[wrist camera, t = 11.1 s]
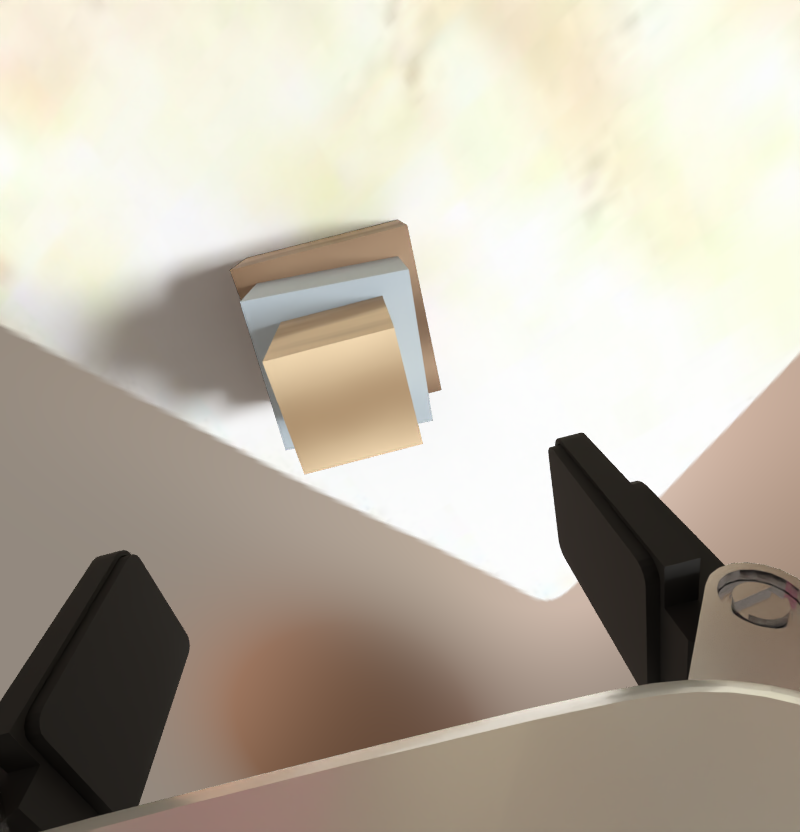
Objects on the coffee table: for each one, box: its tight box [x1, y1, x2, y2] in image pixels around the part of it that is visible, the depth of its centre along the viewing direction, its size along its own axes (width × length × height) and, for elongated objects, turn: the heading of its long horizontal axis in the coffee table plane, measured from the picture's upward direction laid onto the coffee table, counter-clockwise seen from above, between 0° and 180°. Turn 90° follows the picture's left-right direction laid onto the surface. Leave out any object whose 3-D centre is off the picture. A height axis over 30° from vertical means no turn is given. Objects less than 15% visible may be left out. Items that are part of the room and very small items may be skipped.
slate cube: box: [240, 256, 433, 450], centre depth 27 cm, size 8×8×5 cm
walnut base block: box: [230, 220, 441, 393], centre depth 32 cm, size 10×10×6 cm
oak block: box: [263, 296, 423, 474], centre depth 22 cm, size 5×5×6 cm
